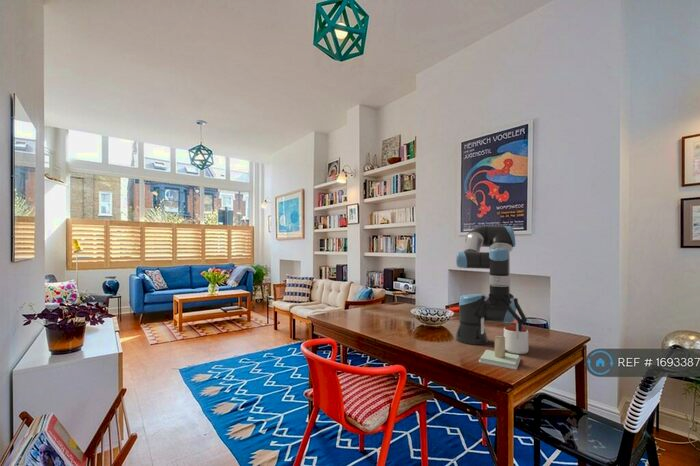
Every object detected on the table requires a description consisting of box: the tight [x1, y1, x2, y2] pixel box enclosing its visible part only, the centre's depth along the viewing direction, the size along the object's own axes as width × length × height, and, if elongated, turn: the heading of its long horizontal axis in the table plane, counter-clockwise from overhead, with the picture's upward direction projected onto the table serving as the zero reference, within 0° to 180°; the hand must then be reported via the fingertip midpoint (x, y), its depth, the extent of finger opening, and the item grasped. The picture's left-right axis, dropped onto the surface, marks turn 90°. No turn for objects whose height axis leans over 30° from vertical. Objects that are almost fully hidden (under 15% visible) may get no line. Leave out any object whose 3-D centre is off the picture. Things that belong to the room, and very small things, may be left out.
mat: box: [478, 357, 522, 371], centre depth 136 cm, size 14×14×1 cm
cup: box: [503, 326, 529, 355], centre depth 149 cm, size 10×10×10 cm
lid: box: [479, 335, 520, 367], centre depth 136 cm, size 13×13×9 cm
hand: (499, 335), depth 137 cm, fingers open, 13 cm apart
